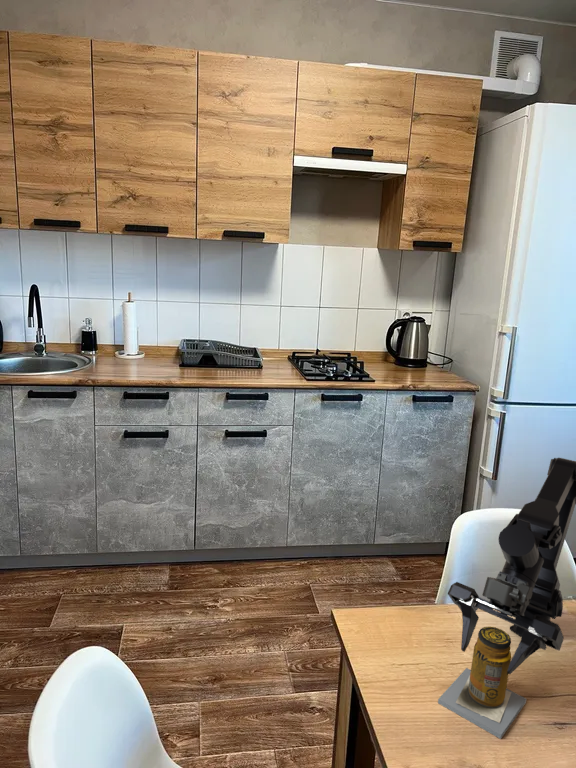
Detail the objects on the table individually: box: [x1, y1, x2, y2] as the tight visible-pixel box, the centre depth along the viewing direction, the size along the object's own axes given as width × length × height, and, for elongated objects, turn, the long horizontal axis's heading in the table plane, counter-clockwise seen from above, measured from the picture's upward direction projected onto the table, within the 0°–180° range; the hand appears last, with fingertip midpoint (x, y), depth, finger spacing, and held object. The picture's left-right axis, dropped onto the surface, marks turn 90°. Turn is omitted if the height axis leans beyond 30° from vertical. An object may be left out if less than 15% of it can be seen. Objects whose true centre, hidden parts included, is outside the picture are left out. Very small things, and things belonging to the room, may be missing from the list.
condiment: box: [456, 626, 512, 723], centre depth 100 cm, size 7×8×12 cm
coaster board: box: [437, 667, 527, 740], centre depth 102 cm, size 11×11×1 cm
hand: (485, 661), depth 99 cm, fingers open, 8 cm apart
